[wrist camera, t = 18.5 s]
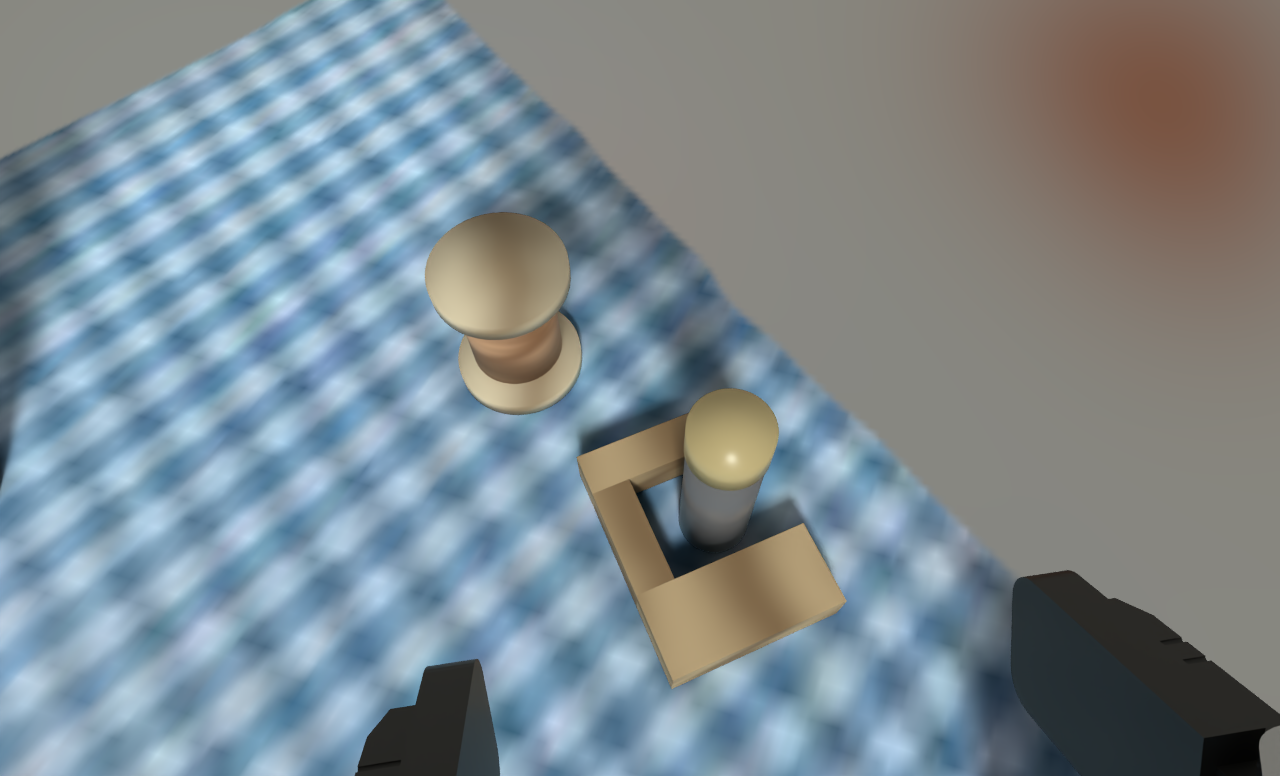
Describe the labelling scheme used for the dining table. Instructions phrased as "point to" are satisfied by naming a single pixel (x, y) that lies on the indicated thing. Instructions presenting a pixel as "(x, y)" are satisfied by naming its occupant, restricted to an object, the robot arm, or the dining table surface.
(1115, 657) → the robot arm
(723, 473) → the grey cylinder tan cap
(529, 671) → the dining table surface
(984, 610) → the dining table surface
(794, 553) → the tan c-shaped clamp
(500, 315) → the bobbin
